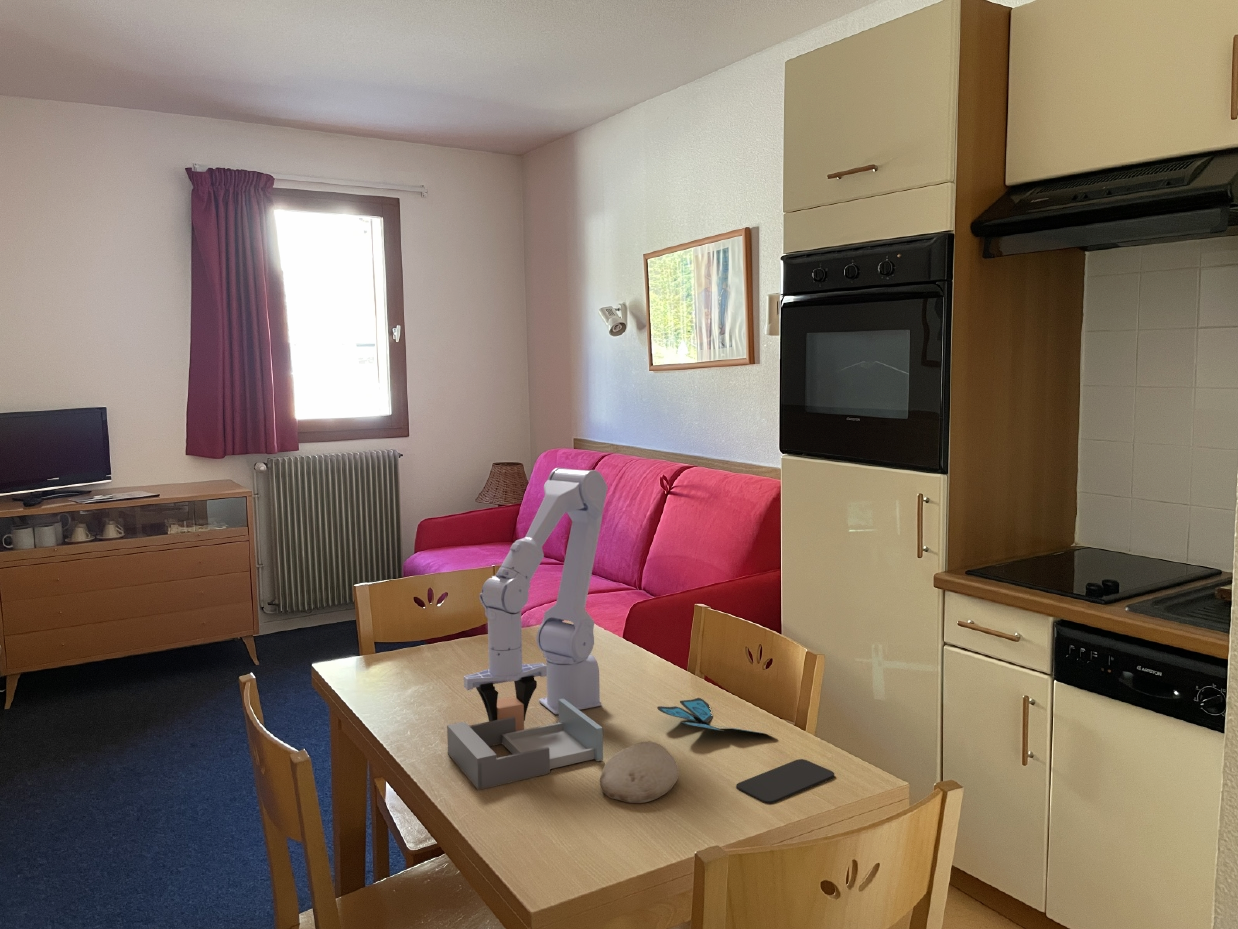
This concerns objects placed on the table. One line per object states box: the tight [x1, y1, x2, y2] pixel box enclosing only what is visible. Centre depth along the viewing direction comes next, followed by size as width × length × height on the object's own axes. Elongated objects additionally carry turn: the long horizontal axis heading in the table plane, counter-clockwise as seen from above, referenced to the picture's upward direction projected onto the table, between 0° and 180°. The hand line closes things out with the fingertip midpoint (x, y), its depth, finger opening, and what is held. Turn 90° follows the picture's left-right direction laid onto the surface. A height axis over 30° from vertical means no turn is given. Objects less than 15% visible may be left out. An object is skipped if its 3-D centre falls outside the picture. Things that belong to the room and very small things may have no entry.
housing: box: [446, 717, 551, 791], centre depth 146 cm, size 12×15×5 cm
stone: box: [599, 740, 679, 804], centre depth 137 cm, size 13×10×8 cm
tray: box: [501, 699, 604, 770], centre depth 150 cm, size 12×15×5 cm
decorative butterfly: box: [656, 697, 772, 735], centre depth 159 cm, size 20×14×3 cm
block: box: [497, 696, 525, 731], centre depth 159 cm, size 4×4×5 cm
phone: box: [735, 758, 835, 805], centre depth 138 cm, size 7×1×15 cm
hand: (507, 722), depth 159 cm, fingers closed on block, 4 cm apart
